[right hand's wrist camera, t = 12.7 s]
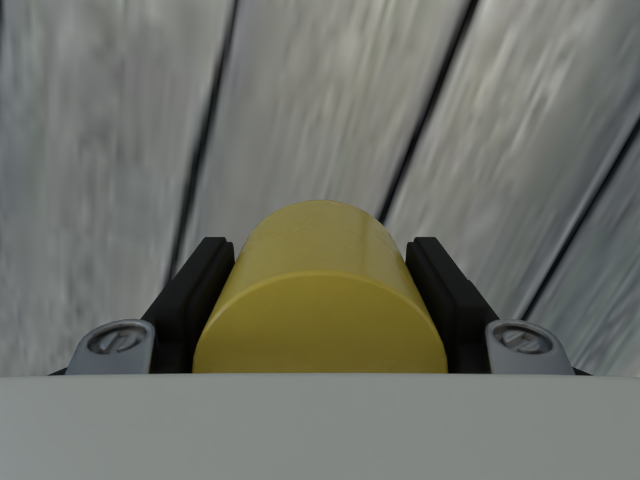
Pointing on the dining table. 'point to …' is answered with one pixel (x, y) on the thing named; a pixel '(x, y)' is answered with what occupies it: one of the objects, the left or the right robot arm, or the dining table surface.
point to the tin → (320, 301)
